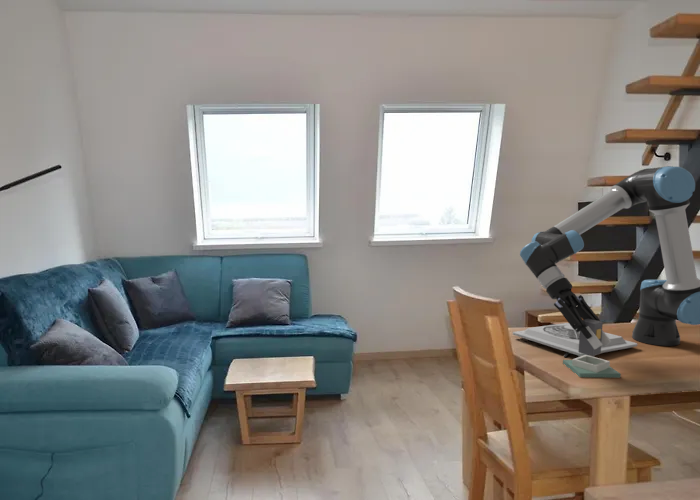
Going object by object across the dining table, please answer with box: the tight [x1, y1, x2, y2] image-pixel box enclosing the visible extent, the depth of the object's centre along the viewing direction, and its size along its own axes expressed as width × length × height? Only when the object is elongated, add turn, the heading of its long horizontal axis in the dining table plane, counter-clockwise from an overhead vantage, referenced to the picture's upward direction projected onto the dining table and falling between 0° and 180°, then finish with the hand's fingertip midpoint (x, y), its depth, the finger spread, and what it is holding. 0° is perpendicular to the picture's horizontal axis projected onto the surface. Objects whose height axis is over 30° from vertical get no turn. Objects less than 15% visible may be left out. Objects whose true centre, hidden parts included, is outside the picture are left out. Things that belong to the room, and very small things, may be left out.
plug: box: [579, 319, 604, 357], centre depth 147 cm, size 4×5×10 cm
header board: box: [562, 355, 622, 379], centre depth 148 cm, size 12×12×3 cm
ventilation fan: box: [512, 322, 638, 357], centre depth 175 cm, size 30×6×30 cm
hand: (603, 345), depth 144 cm, fingers closed on plug, 4 cm apart
